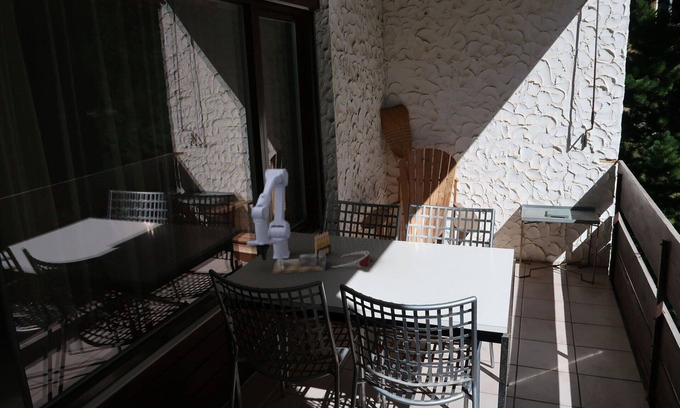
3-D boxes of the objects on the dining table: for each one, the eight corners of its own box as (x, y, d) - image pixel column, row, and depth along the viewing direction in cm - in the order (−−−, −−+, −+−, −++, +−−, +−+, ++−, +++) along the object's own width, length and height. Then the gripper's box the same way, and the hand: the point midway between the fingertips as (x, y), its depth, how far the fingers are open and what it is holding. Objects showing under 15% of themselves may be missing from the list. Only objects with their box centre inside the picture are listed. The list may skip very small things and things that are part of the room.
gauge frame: (272, 273, 255) (271, 261, 254) (275, 264, 267) (274, 252, 265) (325, 270, 255) (325, 257, 254) (326, 261, 267) (325, 249, 265)
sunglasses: (365, 270, 252) (363, 260, 252) (331, 274, 259) (328, 264, 258) (375, 257, 268) (373, 248, 267) (343, 261, 274) (340, 252, 274)
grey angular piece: (277, 269, 255) (276, 261, 254) (279, 263, 264) (278, 255, 263) (298, 268, 255) (297, 260, 254) (299, 262, 264) (298, 254, 263)
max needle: (281, 269, 256) (281, 259, 255) (282, 268, 257) (281, 259, 256) (283, 269, 256) (282, 259, 255) (283, 268, 257) (283, 258, 256)
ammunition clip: (317, 260, 270) (316, 236, 267) (314, 259, 271) (313, 235, 268) (331, 253, 278) (329, 230, 275) (328, 253, 279) (326, 230, 276)
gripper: (244, 235, 252) (247, 263, 256) (276, 233, 252) (279, 261, 256) (247, 230, 259) (249, 258, 262) (278, 229, 259) (280, 256, 263)
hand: (264, 259), depth 260 cm, fingers closed
